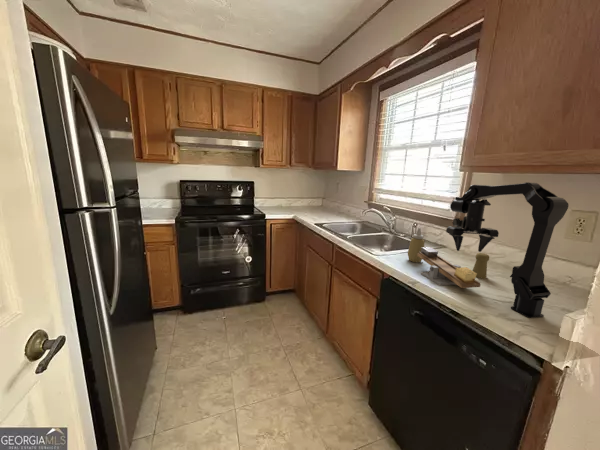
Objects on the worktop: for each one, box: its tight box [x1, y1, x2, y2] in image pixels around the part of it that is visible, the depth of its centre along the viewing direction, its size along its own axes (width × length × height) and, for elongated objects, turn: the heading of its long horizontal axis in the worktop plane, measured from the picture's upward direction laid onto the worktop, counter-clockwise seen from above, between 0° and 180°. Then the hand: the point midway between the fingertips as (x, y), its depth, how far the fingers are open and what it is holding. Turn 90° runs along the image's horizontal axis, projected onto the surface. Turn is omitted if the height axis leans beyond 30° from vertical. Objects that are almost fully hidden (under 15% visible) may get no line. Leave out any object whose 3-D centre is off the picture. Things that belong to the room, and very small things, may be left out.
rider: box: [454, 267, 477, 283], centre depth 102 cm, size 5×5×4 cm
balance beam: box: [417, 252, 482, 289], centre depth 112 cm, size 28×9×2 cm, turn 12°
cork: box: [471, 252, 490, 280], centre depth 117 cm, size 6×6×11 cm
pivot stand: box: [420, 264, 462, 286], centre depth 113 cm, size 12×15×6 cm
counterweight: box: [421, 246, 439, 258], centre depth 122 cm, size 5×5×3 cm
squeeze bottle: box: [407, 227, 425, 263], centre depth 134 cm, size 8×8×18 cm
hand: (468, 251), depth 109 cm, fingers open, 9 cm apart
